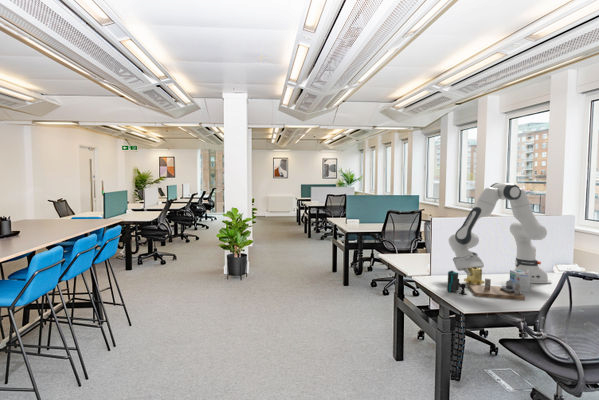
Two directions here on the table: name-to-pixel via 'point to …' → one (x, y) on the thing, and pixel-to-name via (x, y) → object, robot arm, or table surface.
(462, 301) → the table surface
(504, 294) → the walnut board
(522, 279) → the light bulb box
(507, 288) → the gear
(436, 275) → the table surface
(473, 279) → the yellow flanged housing
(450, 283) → the surveillance camera
